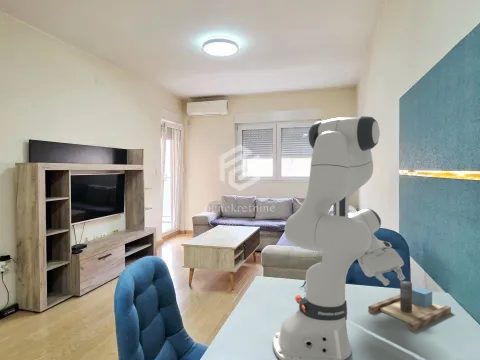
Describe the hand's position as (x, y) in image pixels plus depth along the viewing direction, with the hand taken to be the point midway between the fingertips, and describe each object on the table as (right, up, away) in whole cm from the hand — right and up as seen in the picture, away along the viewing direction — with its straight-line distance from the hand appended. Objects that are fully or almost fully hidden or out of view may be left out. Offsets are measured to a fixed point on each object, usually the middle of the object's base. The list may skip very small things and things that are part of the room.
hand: (395, 282), depth 109 cm
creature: (-27, -11, +24) cm, 37 cm away
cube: (+11, -9, +2) cm, 14 cm away
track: (+4, -11, -2) cm, 12 cm away
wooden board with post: (+5, -10, -1) cm, 11 cm away
